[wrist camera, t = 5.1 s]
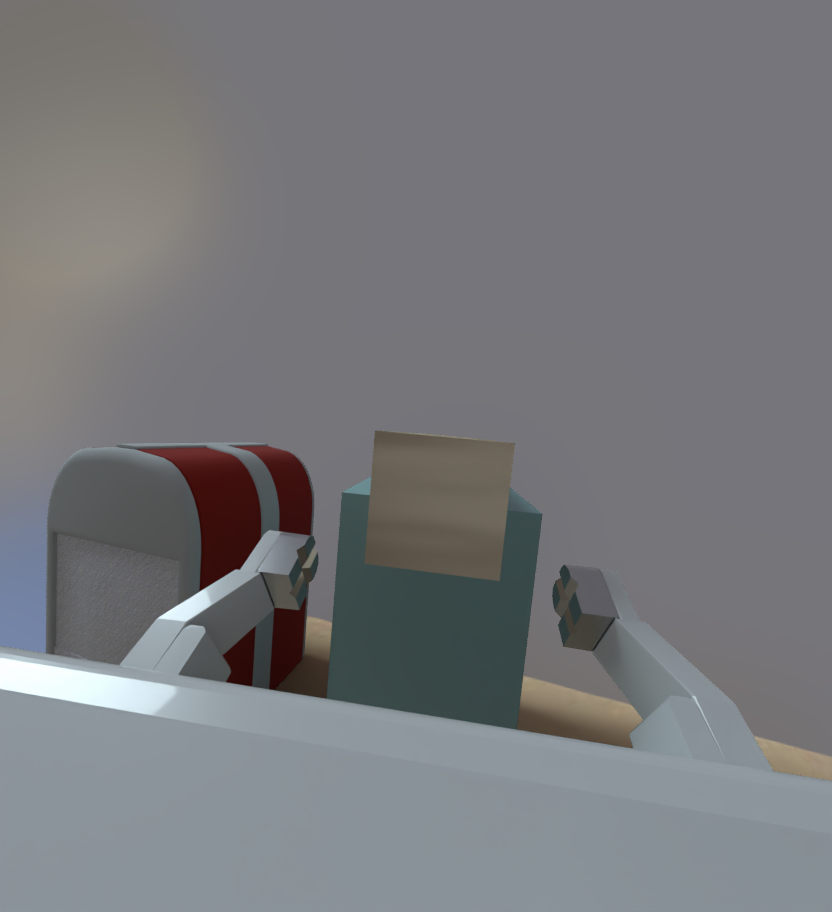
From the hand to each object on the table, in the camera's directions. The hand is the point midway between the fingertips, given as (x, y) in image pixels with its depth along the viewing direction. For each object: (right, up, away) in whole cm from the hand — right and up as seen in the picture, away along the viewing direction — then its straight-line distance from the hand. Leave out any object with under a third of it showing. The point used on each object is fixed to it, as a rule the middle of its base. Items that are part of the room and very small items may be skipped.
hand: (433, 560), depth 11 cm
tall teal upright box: (-1, -25, +20) cm, 31 cm away
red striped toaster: (-25, -22, +26) cm, 42 cm away
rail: (+1, +1, +11) cm, 11 cm away
